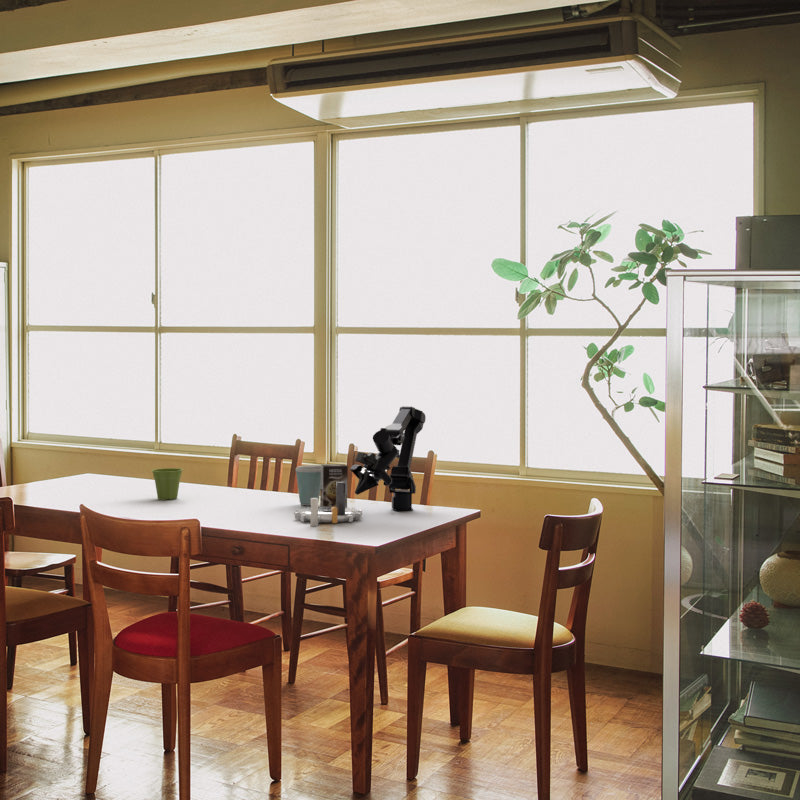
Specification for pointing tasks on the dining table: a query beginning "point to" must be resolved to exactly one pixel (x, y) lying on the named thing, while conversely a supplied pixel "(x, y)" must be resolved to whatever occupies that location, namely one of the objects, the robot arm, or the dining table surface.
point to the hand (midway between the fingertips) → (356, 493)
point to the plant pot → (167, 482)
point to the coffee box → (332, 483)
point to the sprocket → (332, 510)
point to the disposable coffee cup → (308, 483)
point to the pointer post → (314, 511)
